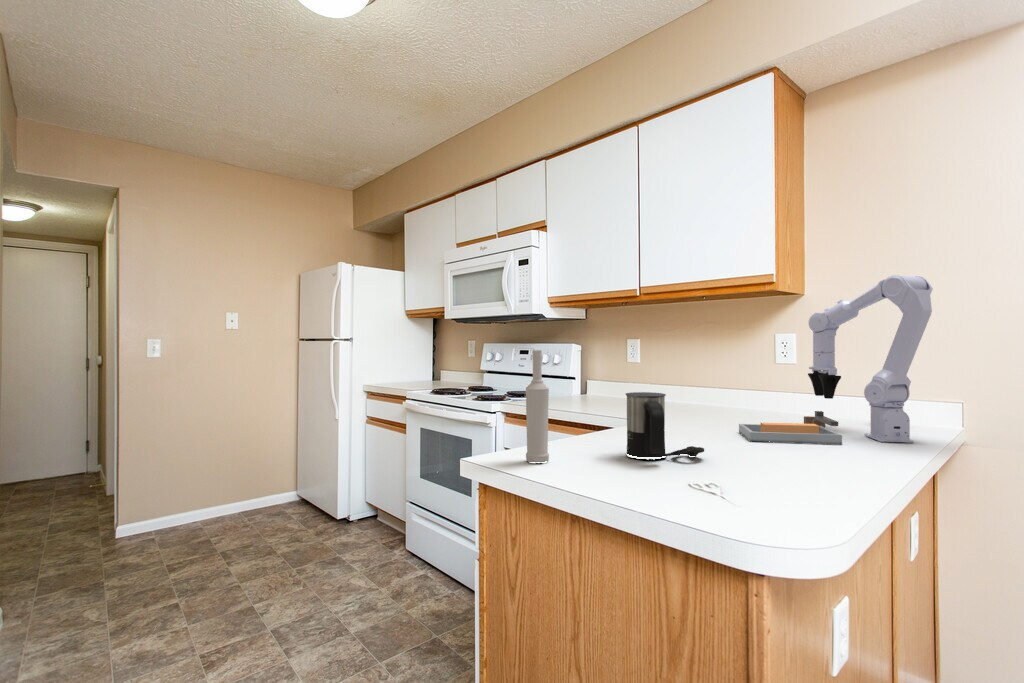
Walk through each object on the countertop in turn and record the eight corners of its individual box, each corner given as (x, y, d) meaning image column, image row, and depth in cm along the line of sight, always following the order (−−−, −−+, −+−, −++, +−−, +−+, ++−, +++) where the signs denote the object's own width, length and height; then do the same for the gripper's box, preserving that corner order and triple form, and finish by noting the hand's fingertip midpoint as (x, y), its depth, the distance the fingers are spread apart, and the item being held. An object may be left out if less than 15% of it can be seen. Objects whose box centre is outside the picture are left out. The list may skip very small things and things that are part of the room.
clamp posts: (825, 432, 152) (825, 421, 152) (814, 432, 153) (814, 420, 153) (814, 427, 161) (814, 416, 161) (803, 427, 162) (803, 416, 162)
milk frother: (617, 454, 125) (617, 392, 125) (672, 449, 131) (672, 389, 130) (654, 468, 112) (653, 398, 112) (713, 461, 117) (713, 395, 117)
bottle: (541, 465, 114) (541, 350, 114) (521, 462, 117) (521, 350, 117) (552, 460, 118) (552, 350, 118) (533, 458, 121) (532, 350, 121)
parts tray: (842, 444, 135) (842, 435, 135) (750, 441, 139) (750, 432, 139) (821, 435, 148) (821, 426, 148) (738, 432, 153) (738, 423, 153)
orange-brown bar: (819, 436, 142) (819, 425, 142) (764, 435, 145) (764, 424, 145) (814, 434, 146) (814, 423, 146) (760, 433, 148) (760, 422, 148)
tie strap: (838, 426, 142) (838, 417, 142) (830, 425, 142) (830, 417, 142) (821, 419, 154) (821, 411, 154) (814, 419, 154) (814, 411, 154)
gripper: (801, 351, 168) (801, 394, 168) (818, 353, 154) (818, 399, 154) (825, 351, 166) (825, 394, 167) (844, 353, 152) (844, 399, 152)
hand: (823, 397), depth 160 cm, fingers open, 7 cm apart
